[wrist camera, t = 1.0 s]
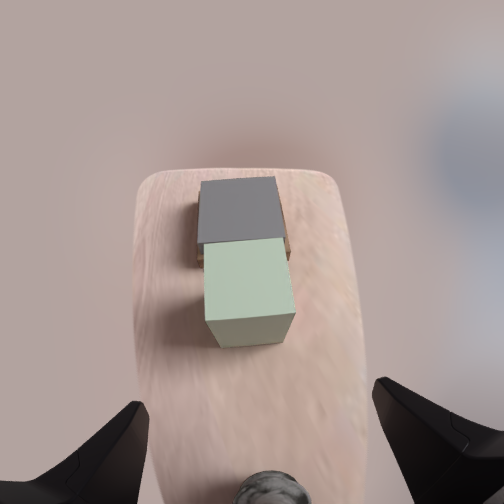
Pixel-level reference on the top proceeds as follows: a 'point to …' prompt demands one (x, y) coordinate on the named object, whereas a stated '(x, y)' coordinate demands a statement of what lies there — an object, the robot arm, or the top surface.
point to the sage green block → (248, 292)
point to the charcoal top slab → (239, 211)
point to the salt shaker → (272, 490)
